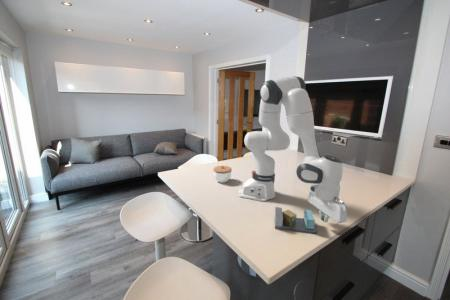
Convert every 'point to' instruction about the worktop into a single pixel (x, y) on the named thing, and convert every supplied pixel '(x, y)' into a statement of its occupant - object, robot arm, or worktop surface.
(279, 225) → the press bed
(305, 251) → the worktop surface
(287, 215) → the tan short block
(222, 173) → the lidded bowl
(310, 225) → the block
